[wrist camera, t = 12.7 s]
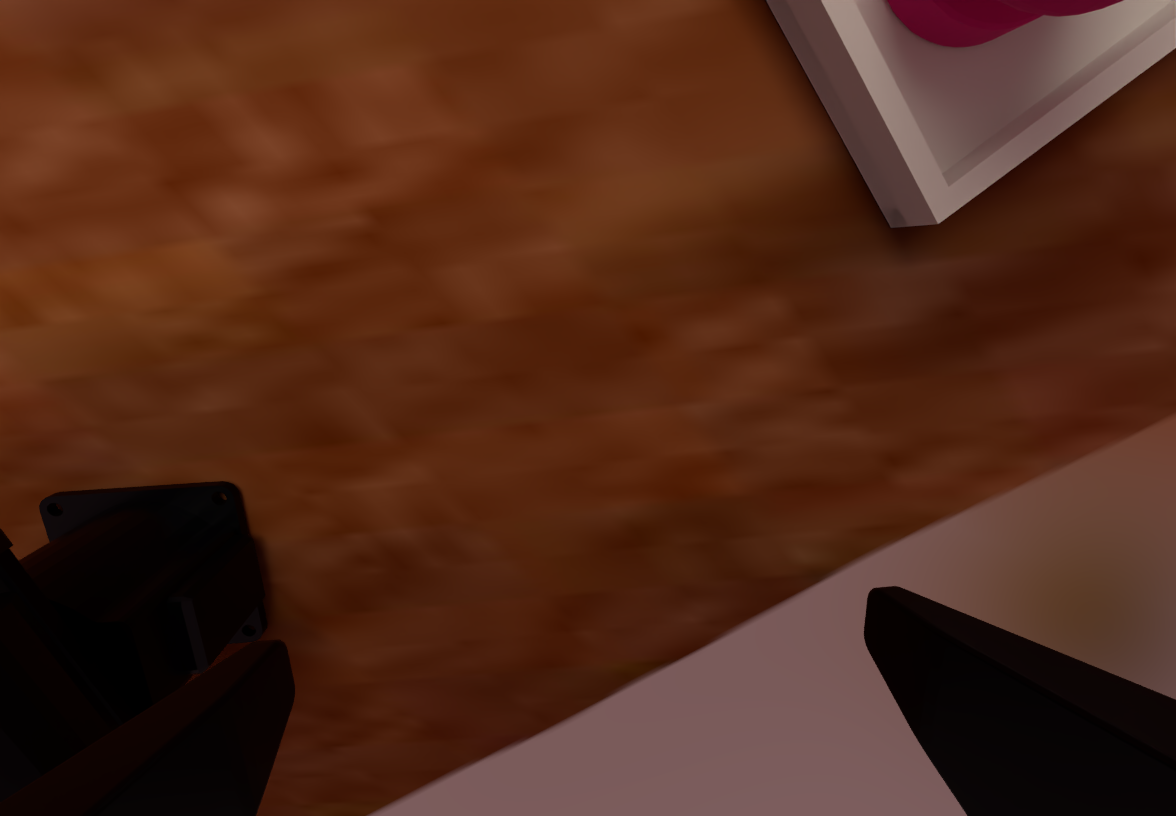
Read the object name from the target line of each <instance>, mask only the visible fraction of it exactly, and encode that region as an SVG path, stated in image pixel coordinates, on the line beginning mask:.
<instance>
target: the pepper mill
mask: <svg viewBox="0 0 1176 816" xmlns="http://www.w3.org/2000/svg"><path fill="white" fill-rule="evenodd" d="M887 1H888V3H889V5H890V7H891V9H892V11H893V12H894V14H895V15H896V16H897V17H898V18H899V19H900V20H901V21H902V22H903V24H904V25H905V26H906V27H907V28H908V29H909V30H910V31H911V32H913V33H914V34H916V35H918V36H919V37H921V38H923V39H925V40H927V41H929V42H932V43H935V44H939V45H942V46H948V47H970V46H975V45H980V44H983V43H986V42H988V41H991V40H993V39H996V38H998V37H1000V36H1002V35H1004V34H1006V33H1008V32H1010V31H1012V30H1014V29H1016V28H1019V27H1021V26H1023V25H1025V24H1027V23H1029V22H1031V21H1033V20H1035V19H1037V18H1039V17H1041V16H1043V15H1046V16H1056V17H1061V16H1072V15H1080V14H1084V13H1088V12H1092V11H1096V10H1100V9H1103V8H1106V7H1108V6H1111V5H1113V4H1116V3H1118V2H1121V1H1124V0H887Z"/></svg>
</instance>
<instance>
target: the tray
mask: <svg viewBox="0 0 1176 816" xmlns="http://www.w3.org/2000/svg"><path fill="white" fill-rule="evenodd" d="M766 2H767V3H768V5H769V7H770V9H771V11H772V13H773V14H774V16H775V18H776V20H777V22H778V23H779V25H780V27H781V29H782V31H783V33H784V34H785V36H786V38H787V40H788V42H789V43H790V45H791V47H792V49H793V51H794V53H795V54H796V56H797V58H798V60H799V62H800V63H801V65H802V67H803V69H804V71H805V73H806V74H807V76H808V78H809V80H810V82H811V83H812V85H813V87H814V89H815V91H816V93H817V94H818V96H819V98H820V100H821V102H822V103H823V105H824V107H825V109H826V111H827V113H828V114H829V116H830V118H831V120H832V122H833V123H834V125H835V127H836V129H837V131H838V133H839V134H840V136H841V138H842V140H843V142H844V143H845V145H846V147H847V149H848V151H849V153H850V154H851V156H852V158H853V160H854V162H855V163H856V165H857V167H858V169H859V171H860V173H861V174H862V176H863V178H864V180H865V182H866V183H867V185H868V187H869V189H870V191H871V193H872V194H873V196H874V198H875V200H876V202H877V203H878V205H879V207H880V209H881V211H882V213H883V214H884V216H885V218H886V220H887V222H888V223H889V225H890V227H891V228H896V227H909V226H921V225H934V224H939V223H940V222H942V221H943V220H945V219H946V218H947V217H949V216H950V215H951V214H953V213H954V212H955V211H957V210H958V209H959V208H961V207H962V206H963V205H965V204H966V203H967V202H969V201H970V200H971V199H973V198H974V197H975V196H977V195H978V194H980V193H981V192H982V191H984V190H985V189H986V188H988V187H989V186H990V185H992V184H993V183H994V182H996V181H997V180H998V179H1000V178H1001V177H1002V176H1004V175H1005V174H1006V173H1008V172H1009V171H1011V170H1012V169H1013V168H1015V167H1016V166H1017V165H1019V164H1020V163H1021V162H1023V161H1024V160H1025V159H1027V158H1028V157H1029V156H1031V155H1032V154H1033V153H1035V152H1036V151H1037V150H1039V149H1040V148H1041V147H1043V146H1044V145H1046V144H1047V143H1048V142H1050V141H1051V140H1052V139H1054V138H1055V137H1056V136H1058V135H1059V134H1060V133H1062V132H1063V131H1064V130H1066V129H1067V128H1068V127H1070V126H1071V125H1072V124H1074V123H1075V122H1077V121H1078V120H1079V119H1081V118H1082V117H1083V116H1085V115H1086V114H1087V113H1089V112H1090V111H1091V110H1093V109H1094V108H1095V107H1097V106H1098V105H1099V104H1101V103H1102V102H1103V101H1105V100H1106V99H1107V98H1109V97H1110V96H1112V95H1113V94H1114V93H1116V92H1117V91H1118V90H1120V89H1121V88H1122V87H1124V86H1125V85H1126V84H1128V83H1129V82H1130V81H1132V80H1133V79H1134V78H1136V77H1137V76H1138V75H1140V74H1141V73H1143V72H1144V71H1145V70H1147V69H1148V68H1149V67H1151V66H1152V65H1153V64H1155V63H1156V62H1157V61H1159V60H1160V59H1161V58H1163V57H1164V56H1165V55H1167V54H1168V53H1169V52H1171V51H1172V50H1173V49H1175V48H1176V0H1124V1H1121V2H1118V3H1116V4H1113V5H1111V6H1108V7H1106V8H1103V9H1100V10H1096V11H1092V12H1088V13H1084V14H1080V15H1072V16H1061V17H1056V16H1046V15H1043V16H1041V17H1039V18H1037V19H1035V20H1033V21H1031V22H1029V23H1027V24H1025V25H1023V26H1021V27H1019V28H1016V29H1014V30H1012V31H1010V32H1008V33H1006V34H1004V35H1002V36H1000V37H998V38H996V39H993V40H991V41H988V42H986V43H983V44H980V45H975V46H970V47H948V46H942V45H939V44H935V43H932V42H929V41H927V40H925V39H923V38H921V37H919V36H918V35H916V34H914V33H913V32H911V31H910V30H909V29H908V28H907V27H906V26H905V25H904V24H903V22H902V21H901V20H900V19H899V18H898V17H897V16H896V15H895V14H894V12H893V11H892V9H891V7H890V5H889V3H888V1H887V0H766Z"/></svg>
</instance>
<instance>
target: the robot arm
mask: <svg viewBox="0 0 1176 816" xmlns="http://www.w3.org/2000/svg"><path fill="white" fill-rule="evenodd" d="M218 492H222V493H223V494H225V496H226V498H227V500H222V499H220V498H219V496H218ZM56 503H57V504H59V505H60V506H61V507H62V508H63V511H61V510H60V509H58V507H57V506H56ZM39 508H40V513H41V516H42V519H43V523H44V526H45V529H46V532H47V535H48V538H49V541H50V543H48V544H46V545H44V546H43V547H41V548H39V549H38V550H36V551H34V552H33V553H31V554H29V555H28V556H26V557H24V558H22V559H21V560H19V561H18V559H17V558H16V557H15V555H14V554H13V553H12V552H11V550H10V549H9V548H10V547H11V546H13V544H12V543H11V542H10V540H9V539H8V538H7V536H6V535H5V534H4V532H3V531H2V530H1V529H0V816H256V814H257V811H258V808H259V805H260V803H261V800H262V797H263V794H264V791H265V788H266V785H267V782H268V779H269V776H270V773H271V770H272V767H273V764H274V761H275V758H276V755H277V752H278V749H279V746H280V743H281V739H282V736H283V733H284V730H285V727H286V724H287V721H288V718H289V715H290V712H291V709H292V706H293V702H294V697H295V684H294V679H293V674H292V669H291V664H290V660H289V655H288V650H287V647H286V645H285V643H284V642H283V641H281V640H267V641H256V640H258V639H259V638H260V637H261V636H262V635H263V633H264V632H265V630H266V628H267V620H266V615H265V611H264V606H263V601H262V600H263V598H264V597H265V592H264V588H263V583H262V578H261V574H260V569H259V564H258V559H257V555H256V550H255V545H254V541H253V539H252V538H251V537H250V536H249V535H248V531H247V527H246V522H245V517H244V513H243V508H242V503H241V499H240V494H239V491H238V489H237V488H236V487H235V486H234V485H233V484H231V483H229V482H224V481H219V482H203V483H188V484H173V485H158V486H143V487H128V488H113V489H97V490H82V491H67V492H58V493H54V494H52V495H50V496H48V497H46V498H45V499H43V500H42V501H41V503H40V505H39ZM247 625H252V626H253V627H255V629H256V630H252V629H250V628H249V627H248V626H247ZM864 639H865V643H866V646H867V648H868V650H869V653H870V654H871V656H872V658H873V660H874V662H875V664H876V665H877V667H878V669H879V671H880V673H881V675H882V676H883V678H884V680H885V682H886V684H887V686H888V687H889V689H890V691H891V693H892V695H893V697H894V699H895V700H896V702H897V704H898V706H899V708H900V710H901V711H902V713H903V715H904V717H905V719H906V720H907V723H908V724H909V726H910V728H911V730H912V731H913V733H914V735H915V736H916V738H917V740H918V741H919V743H920V745H921V746H922V748H923V749H924V751H925V752H926V754H927V756H928V757H929V759H930V760H931V762H932V763H933V765H934V766H935V768H936V769H937V771H938V772H939V774H940V775H941V777H942V778H943V780H944V781H945V783H946V784H947V786H948V787H949V789H950V790H951V792H952V793H953V795H954V796H955V797H956V799H957V801H958V802H959V804H960V805H961V807H962V808H963V809H964V811H965V813H966V814H967V816H1176V700H1175V699H1173V698H1170V697H1168V696H1165V695H1163V694H1160V693H1158V692H1156V691H1153V690H1151V689H1148V688H1146V687H1143V686H1141V685H1139V684H1136V683H1134V682H1131V681H1129V680H1126V679H1124V678H1121V677H1119V676H1116V675H1114V674H1111V673H1109V672H1107V671H1104V670H1102V669H1099V668H1097V667H1094V666H1092V665H1089V664H1087V663H1085V662H1082V661H1080V660H1077V659H1075V658H1072V657H1070V656H1067V655H1065V654H1062V653H1060V652H1058V651H1055V650H1053V649H1050V648H1048V647H1045V646H1043V645H1040V644H1038V643H1036V642H1033V641H1031V640H1028V639H1026V638H1023V637H1021V636H1018V635H1016V634H1014V633H1011V632H1009V631H1006V630H1004V629H1001V628H999V627H996V626H994V625H991V624H989V623H986V622H984V621H982V620H979V619H977V618H974V617H972V616H969V615H967V614H964V613H962V612H959V611H957V610H954V609H952V608H950V607H947V606H945V605H942V604H940V603H938V602H935V601H932V600H930V599H928V598H925V597H923V596H920V595H918V594H915V593H913V592H911V591H908V590H905V589H903V588H901V587H897V586H892V587H880V588H873V589H872V590H871V591H870V592H869V594H868V598H867V608H866V617H865V626H864ZM253 641H256V642H253ZM243 642H252V643H250V644H248V645H247V646H245V647H244V648H242V649H241V650H239V651H237V652H236V653H234V654H233V655H231V656H230V657H228V658H226V659H225V660H223V661H222V662H220V663H219V664H217V665H215V666H214V667H212V668H211V669H209V670H208V671H206V670H207V669H208V667H209V666H210V665H211V664H212V663H213V661H214V660H215V659H216V658H217V656H218V655H219V654H220V653H221V651H222V650H223V649H224V648H225V646H226V645H227V644H232V643H243ZM205 671H206V672H205ZM203 672H204V673H203ZM202 673H203V674H202ZM193 674H201V675H200V676H198V677H197V678H195V679H194V680H192V681H190V682H189V683H187V681H188V680H189V679H190V678H191V676H192V675H193ZM186 683H187V684H186ZM185 684H186V685H185Z"/></svg>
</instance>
